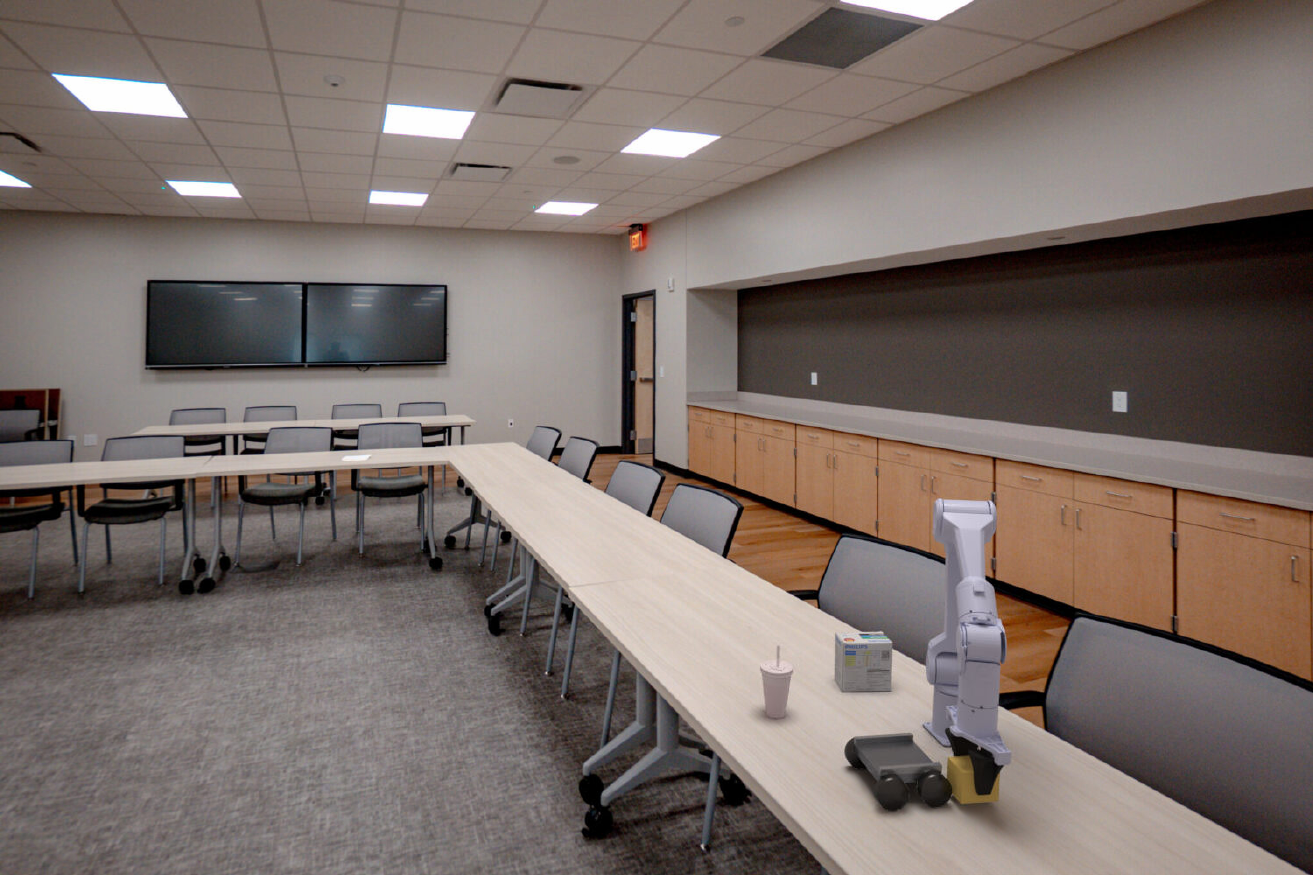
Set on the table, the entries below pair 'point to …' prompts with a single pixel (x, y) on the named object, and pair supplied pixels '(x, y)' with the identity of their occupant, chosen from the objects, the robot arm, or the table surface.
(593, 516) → the table surface
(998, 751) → the robot arm
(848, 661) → the light bulb box
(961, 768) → the yellow block
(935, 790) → the trolley
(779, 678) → the smoothie
